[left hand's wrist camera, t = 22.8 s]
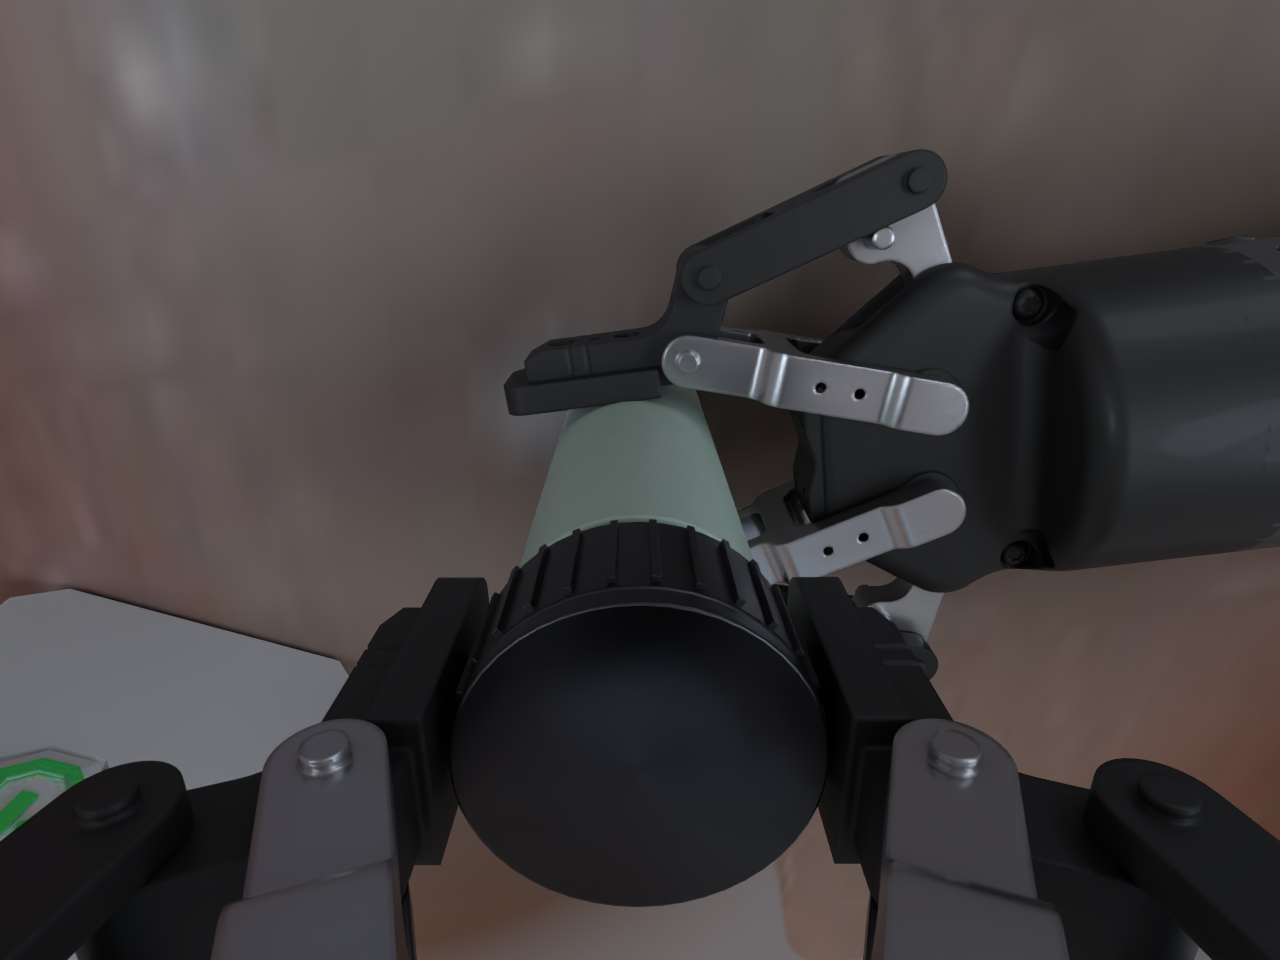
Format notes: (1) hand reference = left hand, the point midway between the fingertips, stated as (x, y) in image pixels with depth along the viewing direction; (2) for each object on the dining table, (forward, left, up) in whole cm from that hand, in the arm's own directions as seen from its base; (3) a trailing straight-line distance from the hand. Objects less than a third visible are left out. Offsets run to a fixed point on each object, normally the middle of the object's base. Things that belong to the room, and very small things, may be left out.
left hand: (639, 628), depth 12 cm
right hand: (+2, -1, -7) cm, 8 cm away
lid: (0, 0, +3) cm, 3 cm away
